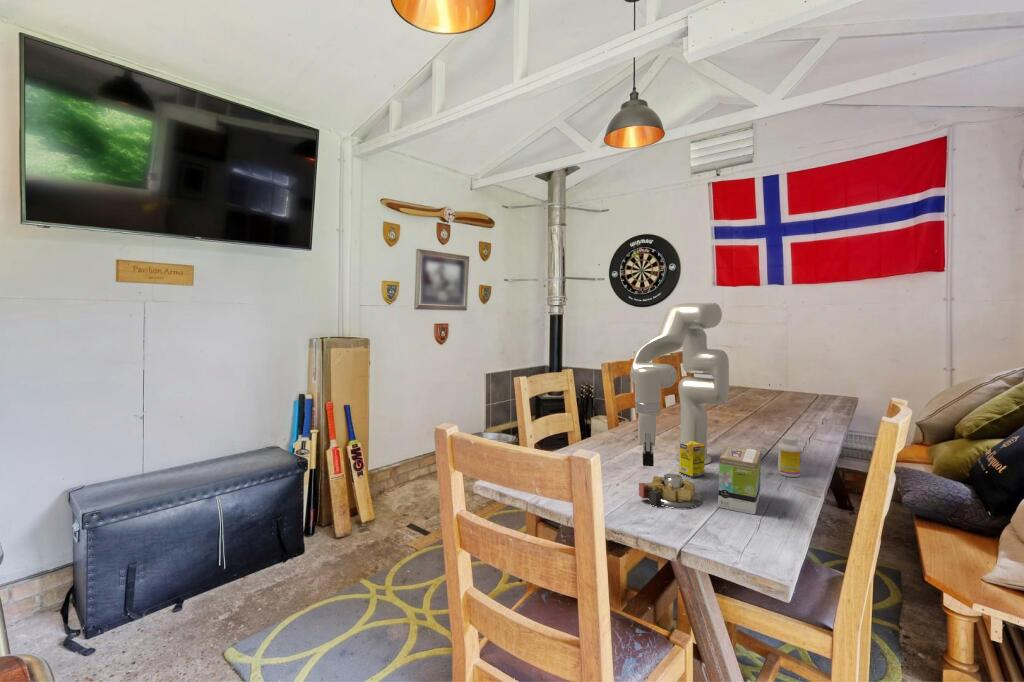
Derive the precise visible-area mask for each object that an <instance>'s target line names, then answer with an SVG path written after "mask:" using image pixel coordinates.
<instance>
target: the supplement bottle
mask: <svg viewBox="0 0 1024 682" xmlns="http://www.w3.org/2000/svg"><path fill="white" fill-rule="evenodd" d="M798 440H799V439H798V437H795V436H791V435H783V436H781V443H780V444H778V448H777V450H778V451H777V473H778V474H779V475H782V476H784V477H788V478H797V477H800V475H801V459H802V458H801V457H802V455H801V453H802V452H801V451H802V449H801V447H800V446H799V445H798V442H799V441H798Z"/></svg>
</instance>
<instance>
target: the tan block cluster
mask: <svg viewBox="0 0 1024 682" xmlns="http://www.w3.org/2000/svg"><path fill="white" fill-rule="evenodd" d="M677 475H679V473H677ZM653 490H658V491H661V499H664V500H669V501H674V502H675V501H678V502H683V501H691V500H692V499H693V498H694V496H695V492H696V491H695V490H696V486H695V483H694V482H693V481H689V480H688V479H684V478H682V488H673V484H670V483H667V485H666V486H664V476H663V477H662V476H656V475H654V476H653V477H652V481H651V482H640V483H638V497H640V498H641V499H644V500H645V499H647V498H650V491H653Z"/></svg>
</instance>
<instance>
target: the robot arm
mask: <svg viewBox="0 0 1024 682" xmlns="http://www.w3.org/2000/svg"><path fill="white" fill-rule="evenodd" d="M722 312H723V311H722V308H721V306H720V305H719V304H718V303H715V302H702V303H701V302H699V303H698V302H696V303H695V302H694V303H693V302H692V303H691V302H690V303H689V302H688V303H678V304H673V305H671V306H670V307H669V308H668V309H667V310H666V313H665V315H664V318H663V321H662V323H661V326H660V329H659V332H658V334H657V336H656V337H654V338H652V339H651V340H650V341H648V342H647V343H645V344H644V345H643V346H642V347H640V349H639V350H637V352H636V355H635V356H634V359H633V361H632V365H631V367H630V371H629V372H630V374H629V375H630V380H631V382H632V383H633V384H634V412H635V413H636V414H638V419H637V420H638V421H637V423H638V424H637V427H638V429H637V431H638V432H637V433H638V436H637V437H638V439H637V440H638V442H637V443H638V446H640V447H641V446H643V447H642V448H643V450H642V466H643V467H654V460H655V459H654V453H655V452H654V449H653V447H655V446H656V437H657V415H658V414H661V389H669V388H671V387H673V385H675V384H676V381H677V380H678V372H677V369H676V367H674V366H673V365H671V364H667V363H658V362H656V363H655V362H653V363H652V362H651V361H653V360H654V359H656V358H658V357H661V356H665V355H667V354H671V353H673V352H676V351H678V350H680V349H681V348H682V367H683V369H684V371H685V372H686V373H688V374H693V375H694V374H695V375H704V376H705V375H708V376H712V378H709V377H702V376H700V377H698V376H686V377H683V378H682V379H680V381H679V382H678V385H677V386H678V395H679V397H678V398H679V402H680V429H679V430H680V438H679V439H680V440H679V443H678V445H677V444H676V445H675V449H677V450H678V453H676V454H675V458H677V459H676V460H678V461H679V460H680V443H685V442H690V441H693V442H697V443H700V444H703V445H705V465H706V464H710V463H711V462H712V457H711V456H710V455H708V420H709V419H708V412H707V410H706V408H705V407H704V406H703V404H706V405H716V406H717V405H718V406H723V405H725V404H726V403H727V402H728V400H729V395H730V363H729V357H728V353H726V351H724V350H723V349H715V348H714V349H713V348H712V349H711V348H708V345H707V343H708V341H707V339H708V338H707V337H708V336H707V333H706V332H705V330H706V329H707V330H708V329H712V328H715V327H717V326H719V324H720V322H722V321H721V320H722V317H723V316H722V315H723V313H722Z"/></svg>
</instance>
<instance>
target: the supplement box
mask: <svg viewBox="0 0 1024 682" xmlns="http://www.w3.org/2000/svg"><path fill="white" fill-rule="evenodd" d="M679 444H680V461H679V465H678V466H679V467H678V468H679V471H678V474H679V473H681V474H680V475H682V474H683V475H682V476H684V475H686V476H685V477H687V476H688V477H687V478H689V477H691V478H690V479H692V478H693V479H695V477H697V478H700V476H701V477H704V476H705V465H706V464H705V445H703V444H700V443H697V442H693V441H690V442H685V443H680V442H679Z"/></svg>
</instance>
